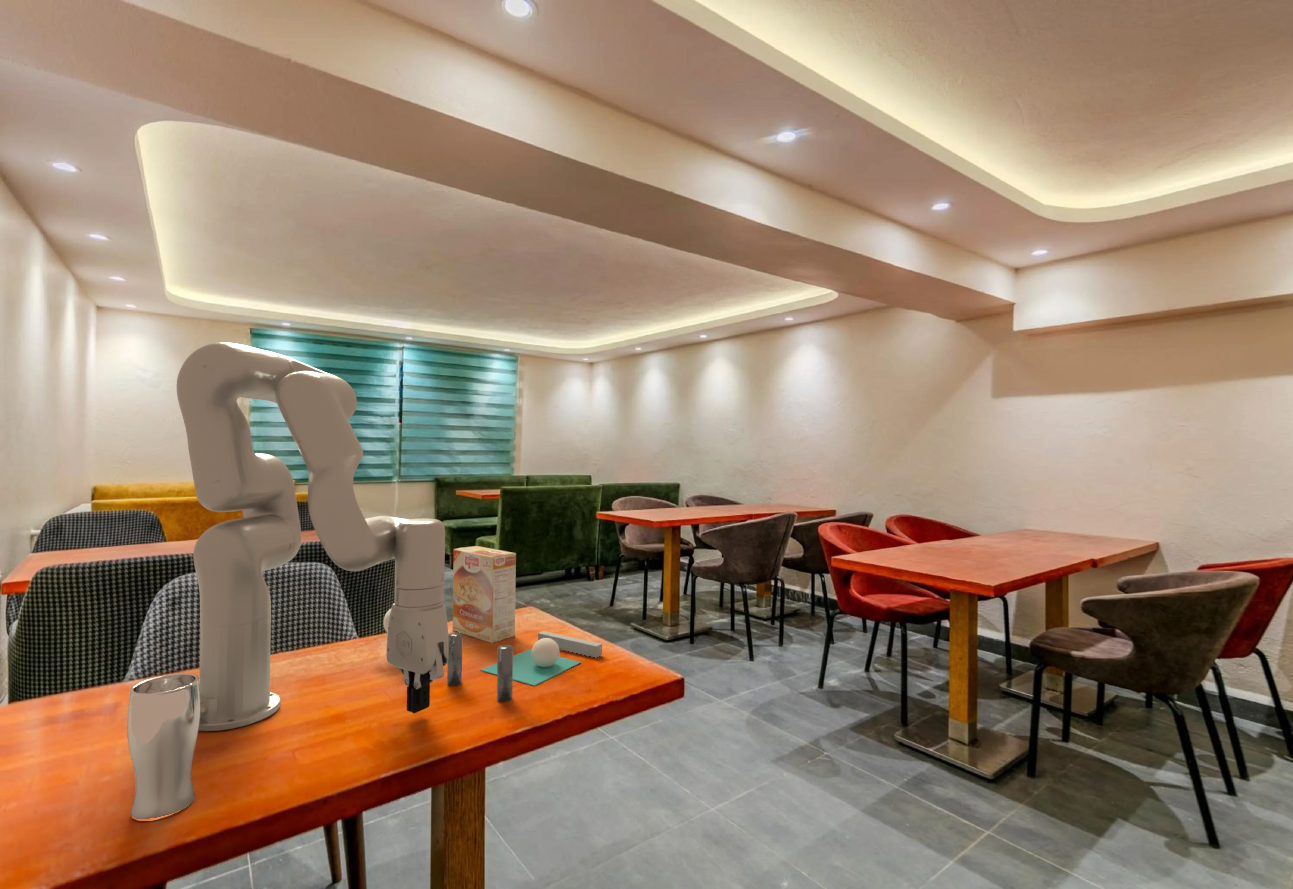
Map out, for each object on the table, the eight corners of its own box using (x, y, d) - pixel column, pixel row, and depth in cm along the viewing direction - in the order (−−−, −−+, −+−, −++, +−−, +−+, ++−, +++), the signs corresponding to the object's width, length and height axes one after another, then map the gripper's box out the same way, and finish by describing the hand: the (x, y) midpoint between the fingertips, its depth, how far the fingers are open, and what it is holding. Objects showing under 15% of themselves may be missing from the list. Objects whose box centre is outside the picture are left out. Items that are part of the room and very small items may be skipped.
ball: (565, 665, 121) (546, 672, 117) (545, 661, 124) (525, 668, 120) (564, 636, 122) (545, 643, 117) (544, 633, 125) (524, 640, 120)
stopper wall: (596, 658, 126) (596, 646, 126) (538, 644, 134) (538, 633, 134) (601, 655, 127) (602, 643, 127) (543, 642, 136) (544, 630, 136)
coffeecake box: (451, 630, 143) (452, 548, 143) (475, 623, 149) (476, 545, 149) (491, 644, 134) (492, 556, 134) (516, 636, 140) (517, 552, 140)
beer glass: (149, 830, 69) (150, 699, 69) (112, 816, 71) (113, 689, 71) (212, 797, 75) (214, 677, 75) (176, 785, 78) (178, 669, 78)
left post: (453, 687, 110) (454, 637, 110) (444, 684, 111) (444, 635, 111) (464, 682, 112) (465, 634, 112) (455, 679, 114) (455, 631, 114)
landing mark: (534, 686, 111) (534, 685, 111) (480, 670, 118) (480, 669, 118) (580, 663, 123) (580, 662, 123) (529, 650, 130) (529, 649, 130)
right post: (504, 703, 103) (505, 650, 103) (493, 699, 105) (494, 648, 105) (515, 697, 106) (516, 646, 106) (504, 694, 107) (505, 643, 107)
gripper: (370, 594, 98) (368, 706, 98) (431, 608, 90) (430, 730, 90) (409, 585, 104) (408, 691, 104) (470, 597, 97) (468, 711, 97)
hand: (418, 709), depth 97 cm, fingers closed
